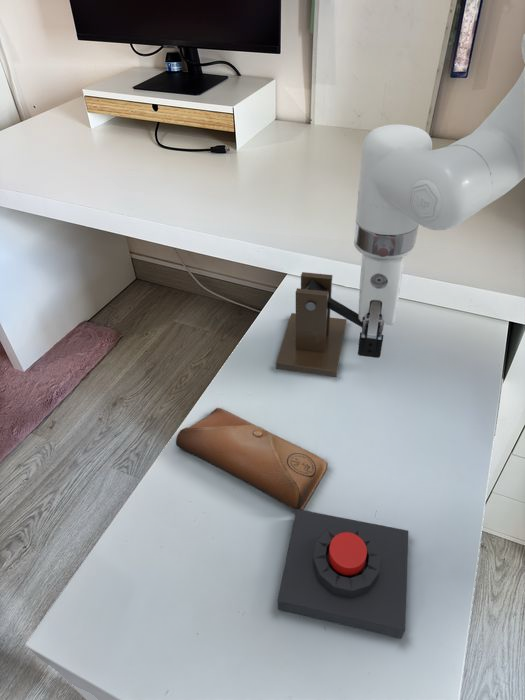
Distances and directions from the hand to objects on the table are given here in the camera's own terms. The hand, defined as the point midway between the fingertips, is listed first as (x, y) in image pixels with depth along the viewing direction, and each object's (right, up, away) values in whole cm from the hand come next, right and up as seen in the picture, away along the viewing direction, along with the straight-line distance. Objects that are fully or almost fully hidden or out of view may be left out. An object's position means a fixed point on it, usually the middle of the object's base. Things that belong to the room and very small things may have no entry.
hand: (370, 341), depth 75 cm
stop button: (-8, -22, -25) cm, 34 cm away
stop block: (-8, -25, -22) cm, 34 cm away
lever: (-5, +4, -2) cm, 7 cm away
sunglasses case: (-17, -15, -11) cm, 26 cm away
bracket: (-8, -1, +3) cm, 9 cm away
